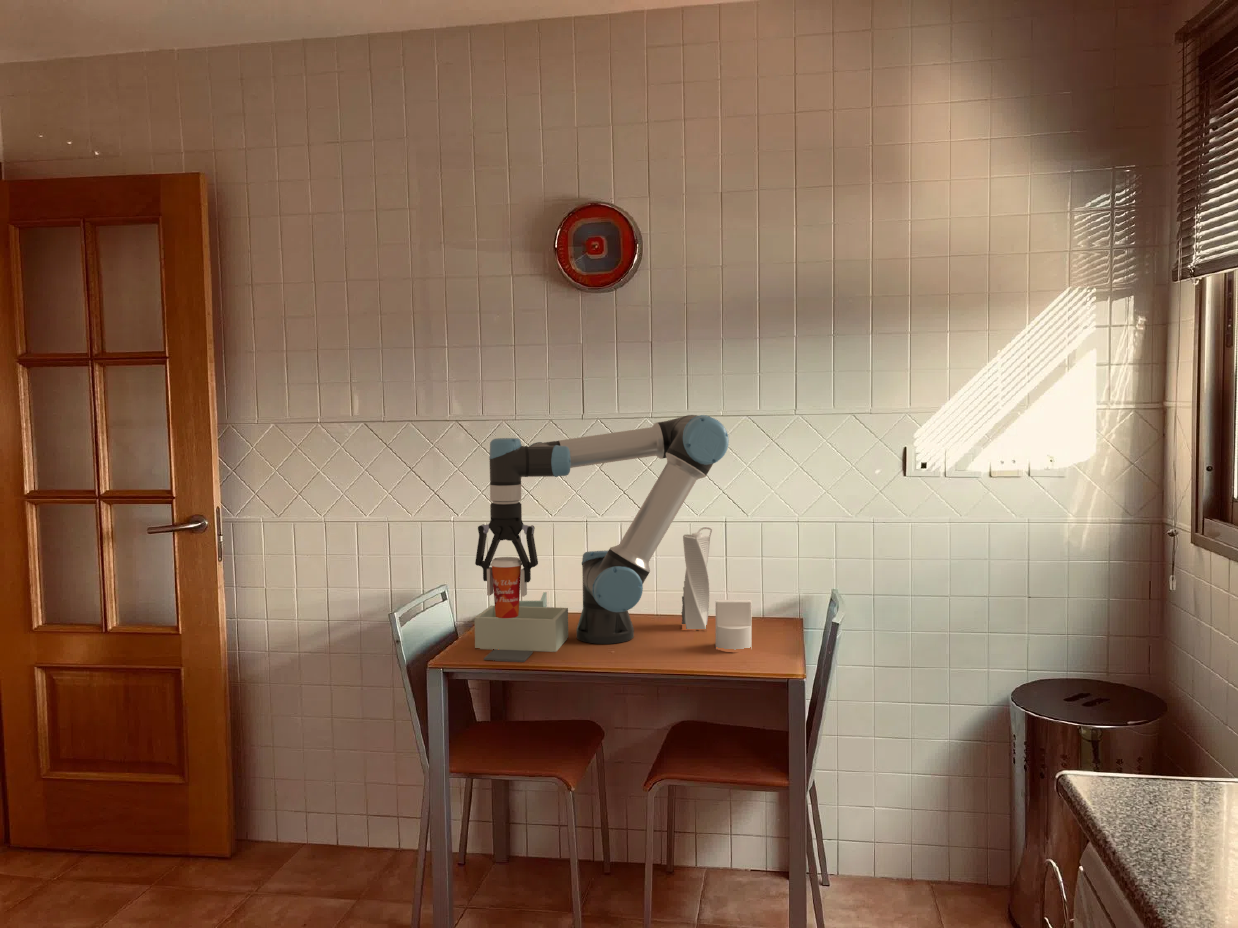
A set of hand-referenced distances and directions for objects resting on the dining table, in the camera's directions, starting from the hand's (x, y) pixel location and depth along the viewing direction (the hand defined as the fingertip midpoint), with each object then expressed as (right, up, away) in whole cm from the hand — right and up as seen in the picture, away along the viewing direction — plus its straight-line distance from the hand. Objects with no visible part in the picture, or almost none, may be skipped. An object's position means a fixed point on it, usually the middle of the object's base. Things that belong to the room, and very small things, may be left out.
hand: (507, 594), depth 236 cm
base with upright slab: (+56, -15, +8) cm, 59 cm away
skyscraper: (+48, -13, +28) cm, 58 cm away
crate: (+2, -14, +14) cm, 20 cm away
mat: (0, -15, +1) cm, 15 cm away
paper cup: (0, -5, 0) cm, 5 cm away
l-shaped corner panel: (+1, -13, +36) cm, 38 cm away
